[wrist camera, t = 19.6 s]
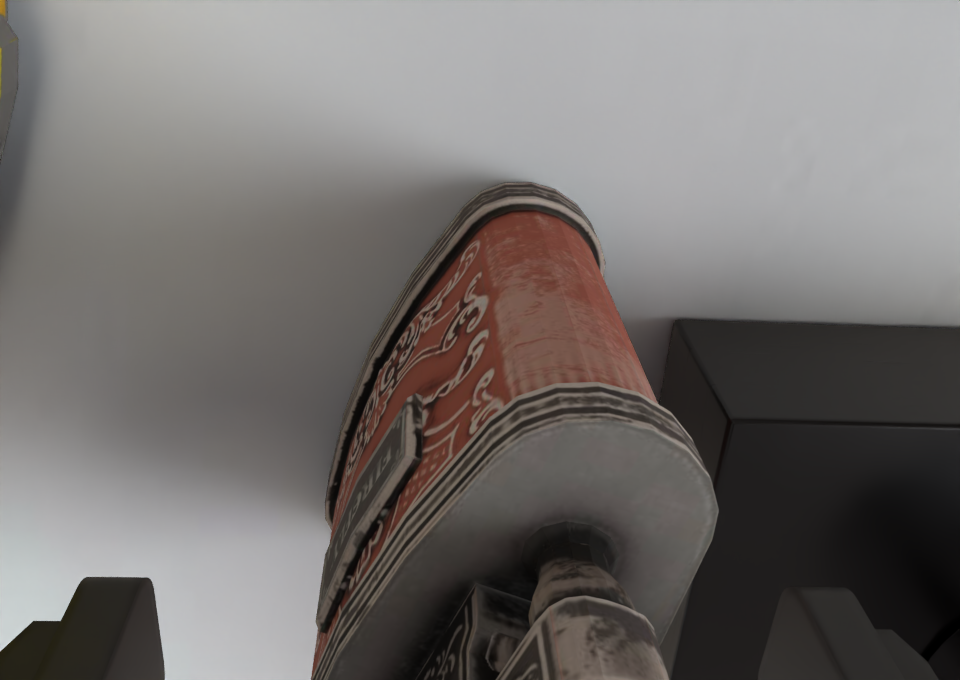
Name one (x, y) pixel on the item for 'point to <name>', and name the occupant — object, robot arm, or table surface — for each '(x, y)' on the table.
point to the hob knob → (947, 658)
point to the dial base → (817, 480)
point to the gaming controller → (7, 72)
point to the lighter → (508, 470)
